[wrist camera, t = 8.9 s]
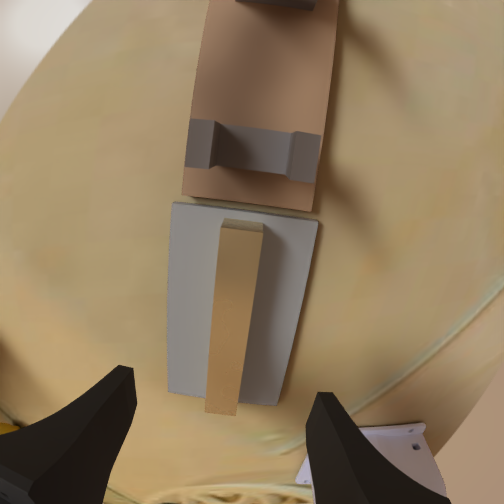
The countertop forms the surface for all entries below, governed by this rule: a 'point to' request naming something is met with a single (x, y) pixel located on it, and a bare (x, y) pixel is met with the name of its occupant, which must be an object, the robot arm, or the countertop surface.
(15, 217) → the countertop surface
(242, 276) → the rail
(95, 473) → the robot arm
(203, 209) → the mat
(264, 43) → the rack
